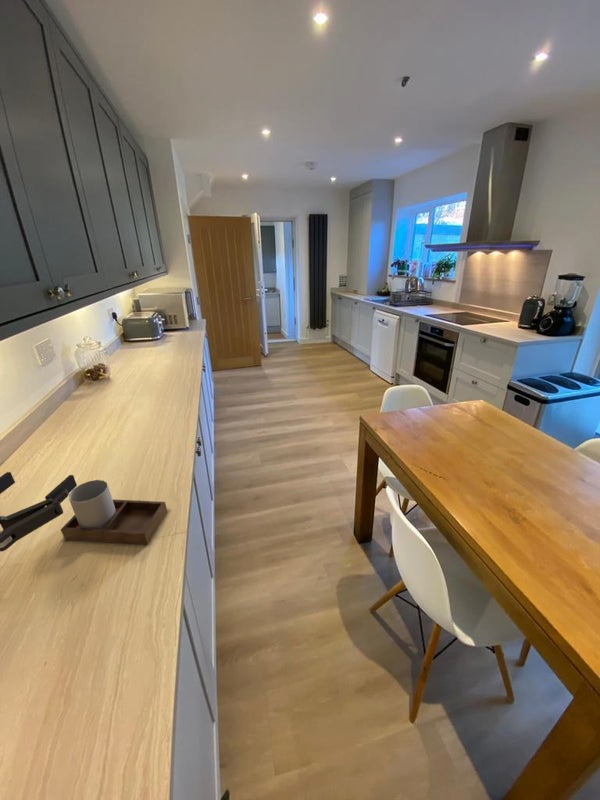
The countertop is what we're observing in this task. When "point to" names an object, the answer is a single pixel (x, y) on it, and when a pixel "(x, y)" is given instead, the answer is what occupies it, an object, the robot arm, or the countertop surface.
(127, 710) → the countertop surface
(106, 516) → the cup
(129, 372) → the countertop surface
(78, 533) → the tray
